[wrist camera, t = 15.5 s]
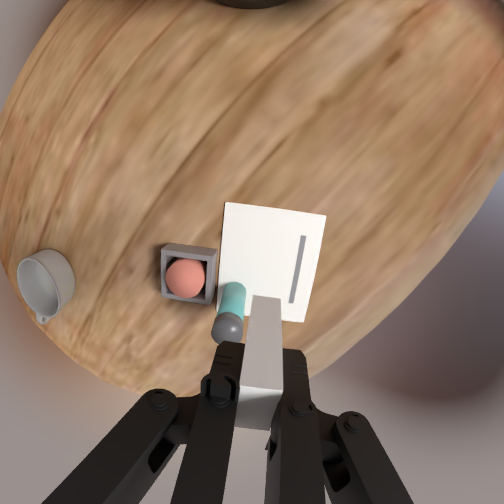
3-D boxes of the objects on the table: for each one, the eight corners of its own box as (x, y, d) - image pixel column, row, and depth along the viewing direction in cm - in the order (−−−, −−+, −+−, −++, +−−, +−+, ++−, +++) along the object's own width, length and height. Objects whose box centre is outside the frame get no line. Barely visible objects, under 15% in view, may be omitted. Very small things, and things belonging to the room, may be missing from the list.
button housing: (168, 242, 37) (160, 249, 34) (217, 249, 37) (213, 256, 34) (168, 287, 39) (161, 296, 36) (214, 295, 39) (209, 305, 36)
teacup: (50, 232, 38) (19, 245, 30) (90, 267, 39) (61, 287, 32) (38, 287, 42) (14, 304, 34) (74, 320, 43) (51, 341, 36)
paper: (225, 201, 34) (225, 202, 34) (325, 215, 34) (326, 215, 34) (216, 310, 40) (216, 311, 39) (303, 321, 39) (303, 322, 39)
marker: (222, 281, 38) (209, 321, 28) (246, 281, 37) (241, 322, 28) (223, 302, 39) (212, 345, 29) (247, 302, 39) (242, 347, 29)
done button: (174, 251, 37) (165, 259, 33) (209, 256, 36) (203, 265, 33) (173, 284, 38) (165, 294, 35) (207, 289, 38) (201, 300, 35)
